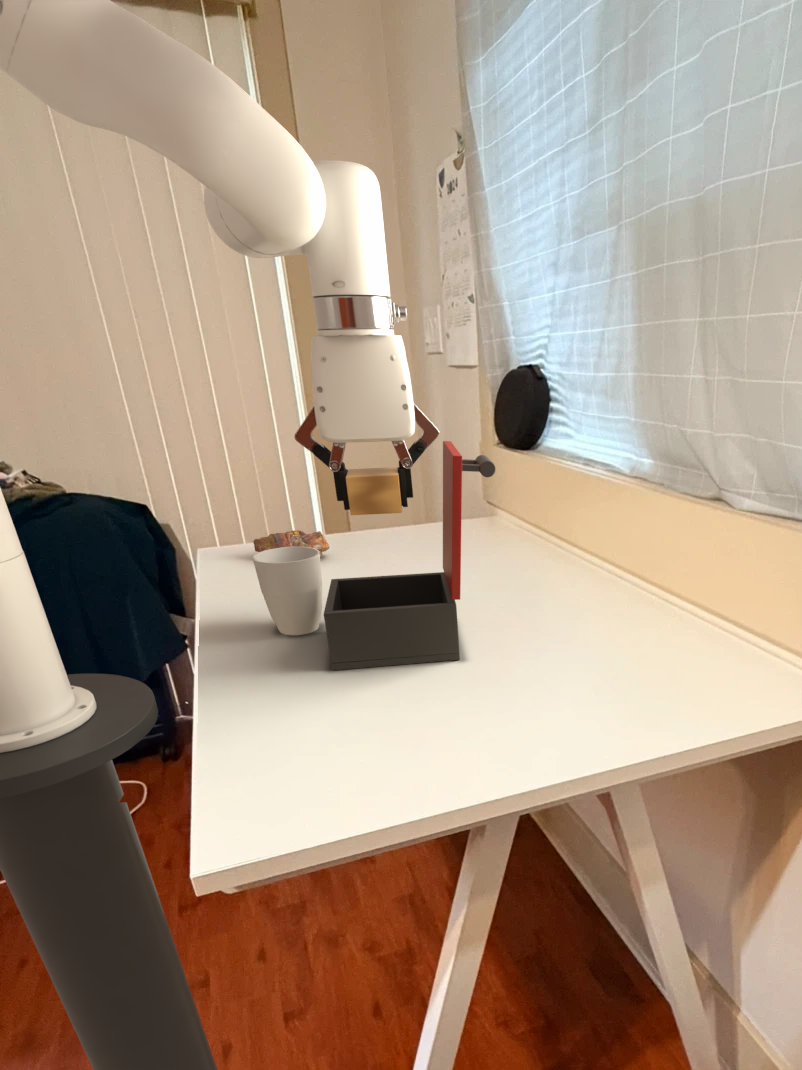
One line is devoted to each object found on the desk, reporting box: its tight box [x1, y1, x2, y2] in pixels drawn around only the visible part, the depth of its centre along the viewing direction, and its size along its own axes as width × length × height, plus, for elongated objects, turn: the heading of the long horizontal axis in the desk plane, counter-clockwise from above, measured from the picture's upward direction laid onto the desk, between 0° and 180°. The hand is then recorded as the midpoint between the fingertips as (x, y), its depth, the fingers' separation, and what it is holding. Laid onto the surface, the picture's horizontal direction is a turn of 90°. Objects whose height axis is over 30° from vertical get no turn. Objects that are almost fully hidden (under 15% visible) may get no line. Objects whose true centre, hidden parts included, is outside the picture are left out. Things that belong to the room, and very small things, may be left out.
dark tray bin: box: [323, 571, 461, 671], centre depth 87 cm, size 15×14×7 cm
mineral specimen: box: [252, 530, 330, 558], centre depth 124 cm, size 12×8×7 cm
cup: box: [252, 547, 323, 636], centre depth 92 cm, size 8×8×10 cm
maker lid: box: [442, 440, 496, 601], centre depth 84 cm, size 16×14×5 cm
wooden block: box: [346, 466, 403, 516], centre depth 78 cm, size 6×6×4 cm
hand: (376, 504), depth 79 cm, fingers closed on wooden block, 5 cm apart
